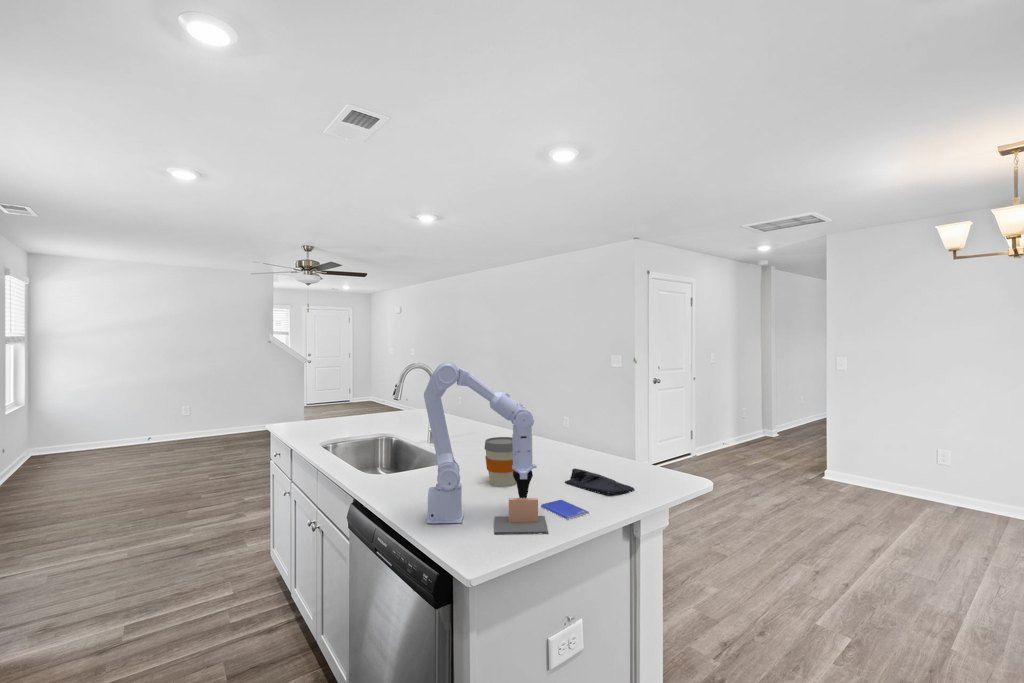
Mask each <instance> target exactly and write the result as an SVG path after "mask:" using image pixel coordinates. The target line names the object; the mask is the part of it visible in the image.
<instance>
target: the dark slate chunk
mask: <svg viewBox="0 0 1024 683" xmlns="http://www.w3.org/2000/svg"><path fill="white" fill-rule="evenodd" d="M564 483H565V484H566V485H572V486H573V485H574V486H573V487H576V486H577V488H579V487H580V488H581V489H583V488H586V490H588V489H589V490H588V491H591V490H592V492H595V491H596V492H595V493H598V492H600V493H599V494H602V493H605V494H604V495H607V494H609V495H610V496H611V495H614V494H621V493H620V492H624V493H628V492H629V491H631V492H633V491H635V490H634V489H635V488H634V487H633V486H630V485H627V484H623V483H620V482H618V481H616V480H615V479H612V478H609V477H607V476H605V475H601V474H599V473H595V472H591V471H589V470H584V469H579V468H577V467H576V468H572V470H571V475H570V479H568V480H565V481H564ZM580 488H579V489H580ZM632 490H633V491H632Z"/></svg>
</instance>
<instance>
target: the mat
mask: <svg viewBox="0 0 1024 683" xmlns="http://www.w3.org/2000/svg"><path fill="white" fill-rule="evenodd" d="M534 533H535V534H534ZM538 533H542V534H541V535H544V534H545V535H547V534H549V529H548V525H547V520H546V516H545V515H538V522H509V515H507V516H503V515H501V516H500V515H499V516H498V515H497V516H496V515H495V516H494V526H493V534H494V535H539V534H538ZM546 533H547V534H546Z"/></svg>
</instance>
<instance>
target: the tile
mask: <svg viewBox="0 0 1024 683" xmlns="http://www.w3.org/2000/svg"><path fill="white" fill-rule="evenodd" d="M508 516H509V522H538V516H539V498H538V497H527V498H519V497H509V498H508Z"/></svg>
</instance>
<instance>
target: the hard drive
mask: <svg viewBox="0 0 1024 683" xmlns="http://www.w3.org/2000/svg"><path fill="white" fill-rule="evenodd" d="M540 508H541V509H543V510H545V509H546V510H545V511H547V512H549V511H550V512H549V513H551V512H552V513H551V514H553V513H554V514H553V515H555V514H556V515H555V516H557V515H558V516H557V517H559V516H560V517H559V518H561V517H562V518H561V519H563V518H564V519H563V520H565V519H566V520H565V521H570V520H569V519H571V520H574V519H578V518H581V517H580V516H582V517H584V516H583V515H586V514H589V515H590V511H589V510H587V509H584V508H582V507H579V506H577V505H575V504H572V503H570V502H568V501H565V500H564V499H558V500H555V501H554V500H553V501H550V502H546V503H541V505H540ZM586 516H587V515H586ZM577 517H578V518H577ZM573 518H574V519H573Z"/></svg>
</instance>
